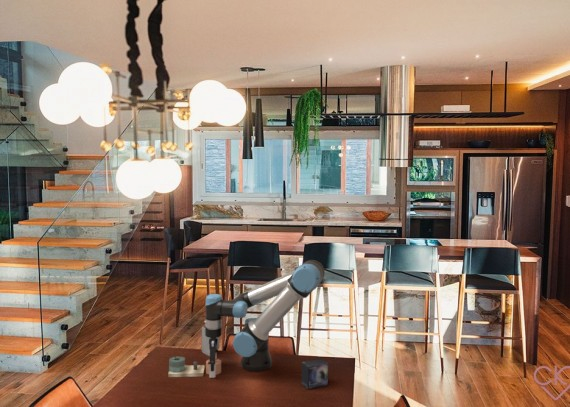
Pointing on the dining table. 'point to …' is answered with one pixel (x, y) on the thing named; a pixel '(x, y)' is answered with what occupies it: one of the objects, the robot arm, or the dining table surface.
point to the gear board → (189, 372)
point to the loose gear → (217, 366)
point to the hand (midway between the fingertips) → (213, 371)
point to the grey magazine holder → (207, 342)
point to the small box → (314, 374)
